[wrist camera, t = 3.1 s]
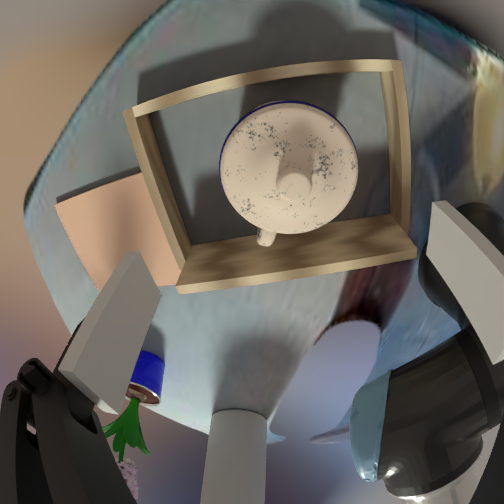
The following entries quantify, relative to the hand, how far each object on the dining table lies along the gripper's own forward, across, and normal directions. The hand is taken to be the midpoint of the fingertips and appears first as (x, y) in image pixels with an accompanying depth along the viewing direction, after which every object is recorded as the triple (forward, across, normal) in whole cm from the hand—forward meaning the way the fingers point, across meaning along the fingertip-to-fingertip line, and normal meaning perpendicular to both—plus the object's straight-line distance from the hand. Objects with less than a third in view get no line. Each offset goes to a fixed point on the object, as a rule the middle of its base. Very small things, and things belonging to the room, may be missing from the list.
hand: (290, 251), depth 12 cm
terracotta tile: (+16, +20, +5) cm, 26 cm away
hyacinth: (+16, +28, +28) cm, 43 cm away
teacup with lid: (+16, 0, 0) cm, 16 cm away
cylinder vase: (+16, +17, +53) cm, 58 cm away
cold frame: (+16, 0, 0) cm, 16 cm away
